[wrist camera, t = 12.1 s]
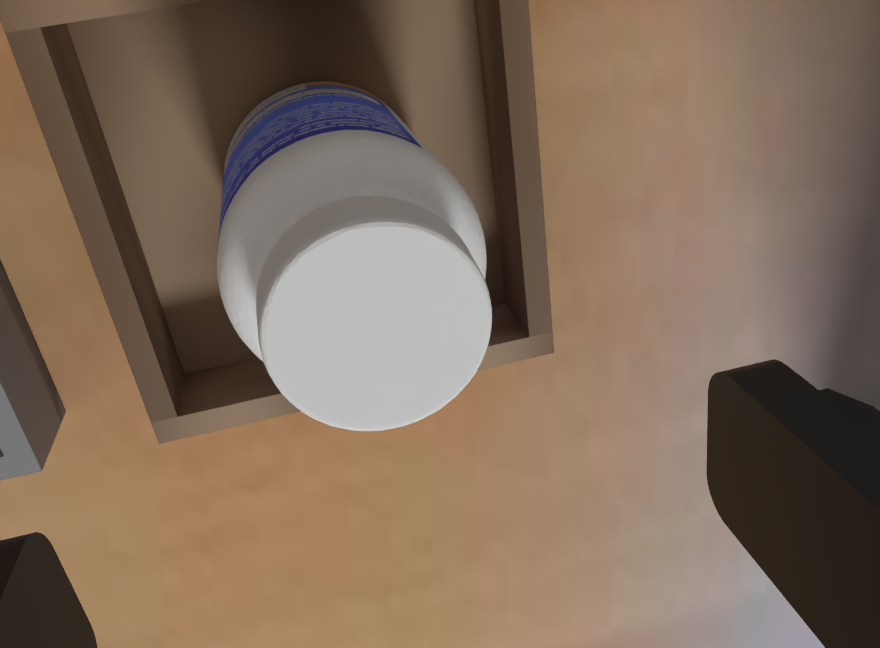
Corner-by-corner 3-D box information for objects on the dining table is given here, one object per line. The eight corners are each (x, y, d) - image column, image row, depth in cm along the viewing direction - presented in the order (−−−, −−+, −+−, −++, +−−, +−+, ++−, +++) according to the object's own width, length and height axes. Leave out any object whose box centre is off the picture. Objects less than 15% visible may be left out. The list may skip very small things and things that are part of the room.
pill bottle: (182, 190, 21) (132, 364, 12) (311, 31, 20) (355, 99, 11) (338, 304, 23) (388, 515, 14) (460, 168, 22) (591, 309, 13)
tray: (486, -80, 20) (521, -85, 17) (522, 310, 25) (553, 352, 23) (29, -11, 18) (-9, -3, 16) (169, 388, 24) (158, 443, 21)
